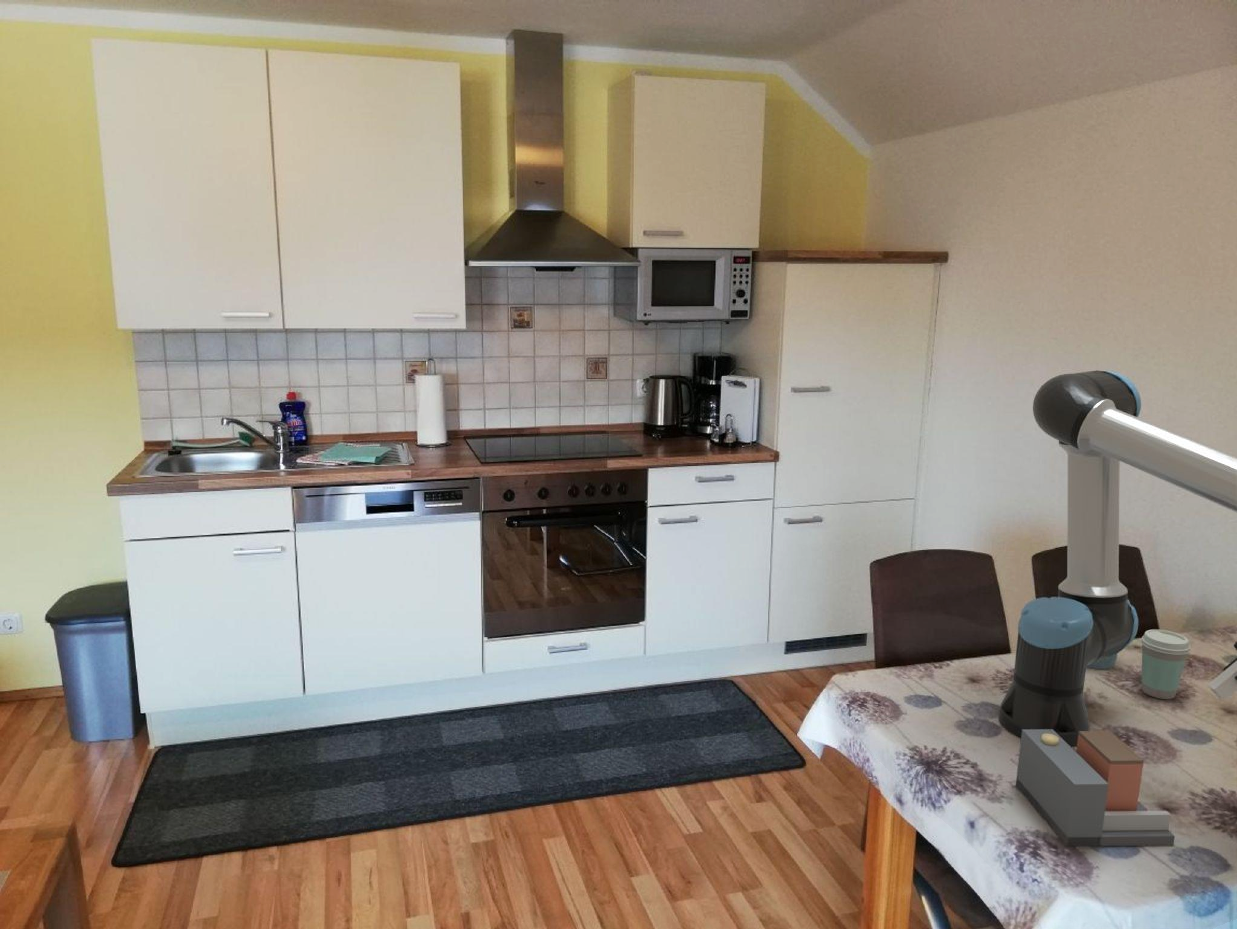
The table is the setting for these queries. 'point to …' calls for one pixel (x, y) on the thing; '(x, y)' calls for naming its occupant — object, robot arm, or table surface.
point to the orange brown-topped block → (1113, 767)
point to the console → (1080, 797)
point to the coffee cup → (1163, 662)
